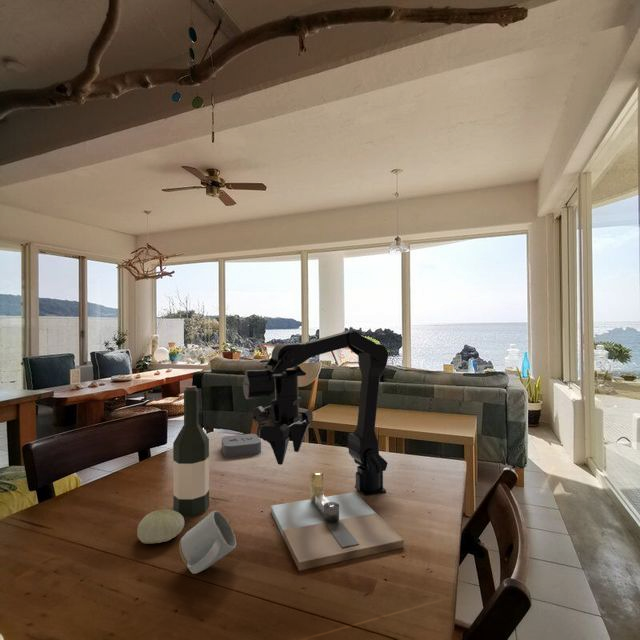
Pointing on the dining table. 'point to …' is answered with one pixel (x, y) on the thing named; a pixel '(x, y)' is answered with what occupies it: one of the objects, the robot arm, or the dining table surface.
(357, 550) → the door board
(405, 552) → the dining table surface
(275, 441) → the robot arm
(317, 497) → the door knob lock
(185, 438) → the wine bottle
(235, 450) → the streaming box
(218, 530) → the ceramic mug
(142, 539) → the sea urchin shell
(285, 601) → the dining table surface
